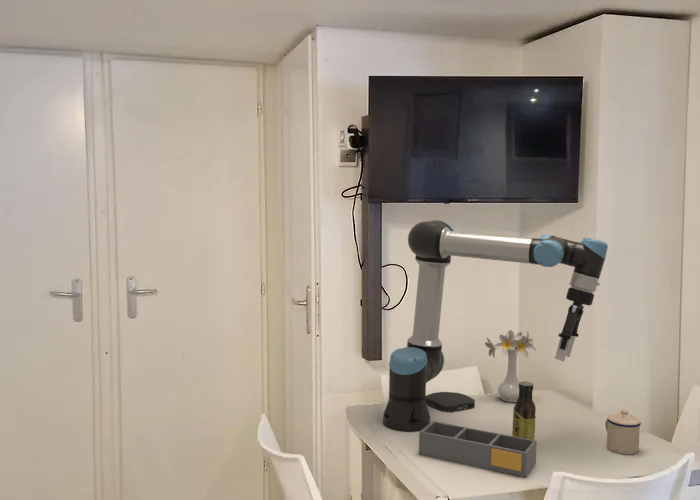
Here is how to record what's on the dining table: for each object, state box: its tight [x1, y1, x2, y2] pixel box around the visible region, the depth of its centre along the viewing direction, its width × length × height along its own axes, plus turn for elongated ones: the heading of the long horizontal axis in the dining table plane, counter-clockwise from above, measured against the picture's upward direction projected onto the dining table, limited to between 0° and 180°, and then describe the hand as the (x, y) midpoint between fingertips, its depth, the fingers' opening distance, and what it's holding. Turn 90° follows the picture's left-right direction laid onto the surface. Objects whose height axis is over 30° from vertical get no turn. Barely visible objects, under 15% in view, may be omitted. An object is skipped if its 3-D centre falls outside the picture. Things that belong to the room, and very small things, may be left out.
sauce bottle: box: [511, 381, 537, 440], centre depth 193 cm, size 6×6×20 cm
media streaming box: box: [425, 391, 476, 413], centre depth 235 cm, size 15×15×3 cm
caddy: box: [418, 420, 538, 478], centre depth 186 cm, size 30×11×6 cm, turn 61°
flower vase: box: [484, 329, 537, 403], centre depth 240 cm, size 13×18×25 cm
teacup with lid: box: [604, 409, 642, 455], centre depth 197 cm, size 12×9×12 cm
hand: (562, 357), depth 201 cm, fingers open, 13 cm apart
